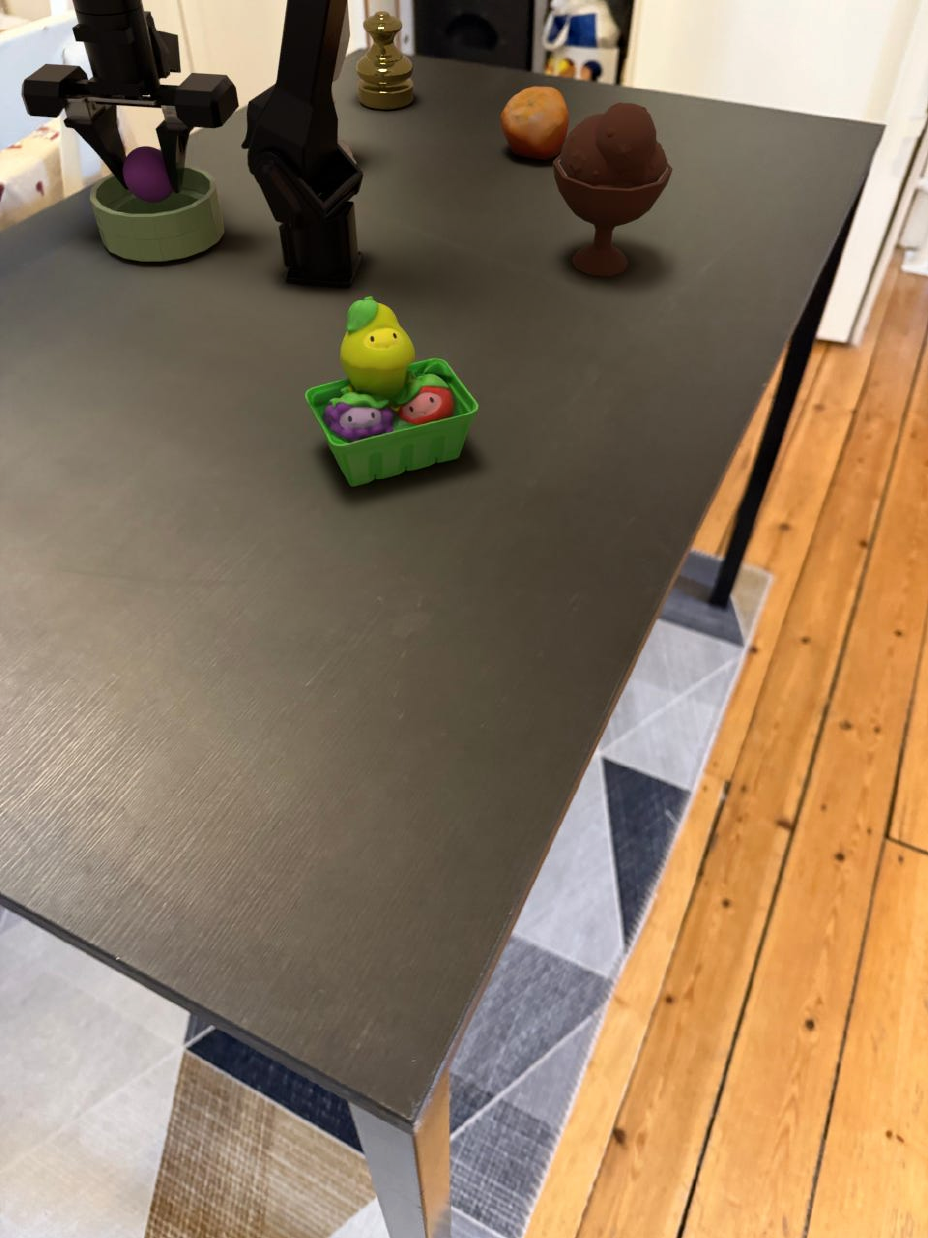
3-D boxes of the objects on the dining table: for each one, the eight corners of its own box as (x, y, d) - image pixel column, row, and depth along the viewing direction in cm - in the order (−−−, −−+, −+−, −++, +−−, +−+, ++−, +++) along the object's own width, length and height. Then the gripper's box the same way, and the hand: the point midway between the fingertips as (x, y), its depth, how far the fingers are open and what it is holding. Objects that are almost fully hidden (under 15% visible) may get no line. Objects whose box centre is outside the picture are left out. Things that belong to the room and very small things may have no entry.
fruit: (587, 131, 108) (577, 79, 101) (557, 185, 108) (545, 136, 100) (529, 117, 111) (516, 65, 104) (500, 170, 110) (484, 121, 103)
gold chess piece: (352, 108, 116) (345, 19, 109) (365, 88, 121) (360, 2, 114) (407, 112, 116) (404, 23, 108) (418, 92, 121) (416, 5, 113)
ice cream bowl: (666, 249, 92) (696, 89, 80) (633, 299, 85) (660, 132, 74) (569, 228, 95) (585, 70, 83) (530, 275, 88) (542, 110, 77)
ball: (188, 191, 91) (177, 139, 87) (171, 213, 88) (158, 160, 84) (141, 188, 91) (128, 136, 87) (122, 209, 88) (108, 156, 84)
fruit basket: (340, 503, 65) (323, 369, 57) (305, 434, 71) (285, 303, 62) (481, 464, 68) (485, 332, 60) (437, 402, 74) (435, 272, 65)
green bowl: (240, 215, 96) (231, 167, 92) (202, 271, 88) (191, 220, 84) (132, 207, 97) (119, 159, 93) (84, 261, 89) (68, 211, 85)
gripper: (241, -15, 81) (267, 163, 93) (47, -25, 83) (98, 151, 95) (200, 22, 74) (235, 210, 86) (-11, 10, 76) (51, 196, 87)
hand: (154, 189), depth 89 cm, fingers closed on ball, 5 cm apart
